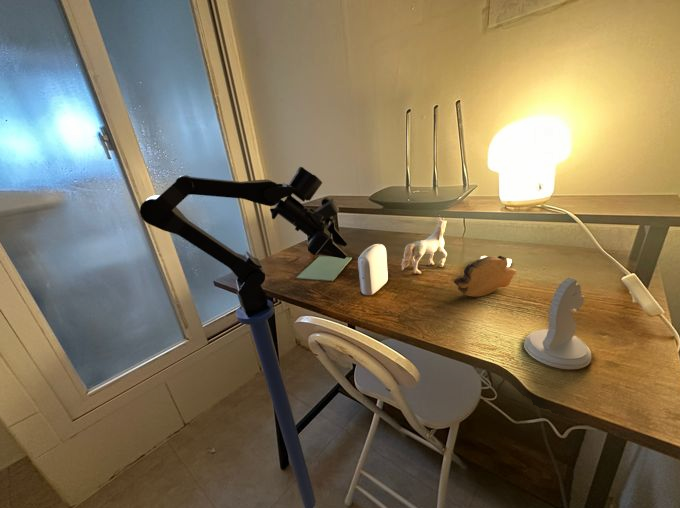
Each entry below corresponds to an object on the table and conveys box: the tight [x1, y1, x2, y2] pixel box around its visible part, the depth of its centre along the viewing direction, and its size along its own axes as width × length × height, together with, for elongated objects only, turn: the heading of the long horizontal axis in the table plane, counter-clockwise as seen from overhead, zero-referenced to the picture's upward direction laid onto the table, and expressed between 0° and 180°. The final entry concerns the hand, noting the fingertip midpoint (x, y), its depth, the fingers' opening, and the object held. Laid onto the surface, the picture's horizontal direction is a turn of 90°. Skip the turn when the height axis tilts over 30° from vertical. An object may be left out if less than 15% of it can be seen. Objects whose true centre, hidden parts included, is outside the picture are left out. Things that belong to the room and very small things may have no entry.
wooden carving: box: [453, 255, 517, 298], centre depth 73 cm, size 16×5×10 cm, turn 110°
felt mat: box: [295, 255, 353, 282], centre depth 103 cm, size 18×13×1 cm
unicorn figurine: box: [400, 216, 448, 275], centre depth 90 cm, size 7×20×13 cm, turn 128°
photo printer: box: [357, 243, 389, 296], centre depth 83 cm, size 10×4×12 cm, turn 141°
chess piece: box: [523, 277, 592, 370], centre depth 52 cm, size 10×10×15 cm
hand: (346, 250), depth 82 cm, fingers open, 9 cm apart
